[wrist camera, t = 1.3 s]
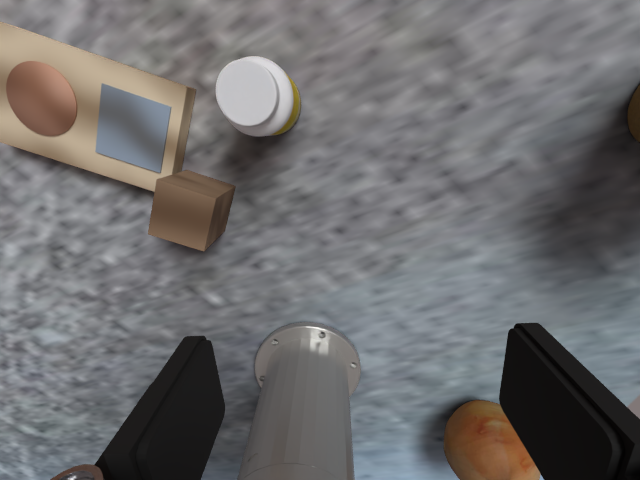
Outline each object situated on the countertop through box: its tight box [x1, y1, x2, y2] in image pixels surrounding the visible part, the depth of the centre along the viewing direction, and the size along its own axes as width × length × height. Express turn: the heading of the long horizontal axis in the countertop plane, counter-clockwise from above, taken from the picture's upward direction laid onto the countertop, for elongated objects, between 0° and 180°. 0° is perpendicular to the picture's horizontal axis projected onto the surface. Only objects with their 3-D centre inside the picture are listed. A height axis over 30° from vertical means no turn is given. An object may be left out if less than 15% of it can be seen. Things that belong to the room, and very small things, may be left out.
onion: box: [444, 400, 540, 480], centre depth 37 cm, size 10×10×10 cm
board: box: [0, 22, 196, 192], centre depth 30 cm, size 10×16×2 cm, turn 72°
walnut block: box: [148, 170, 236, 251], centre depth 31 cm, size 5×5×6 cm
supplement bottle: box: [216, 56, 301, 137], centre depth 25 cm, size 5×5×10 cm
